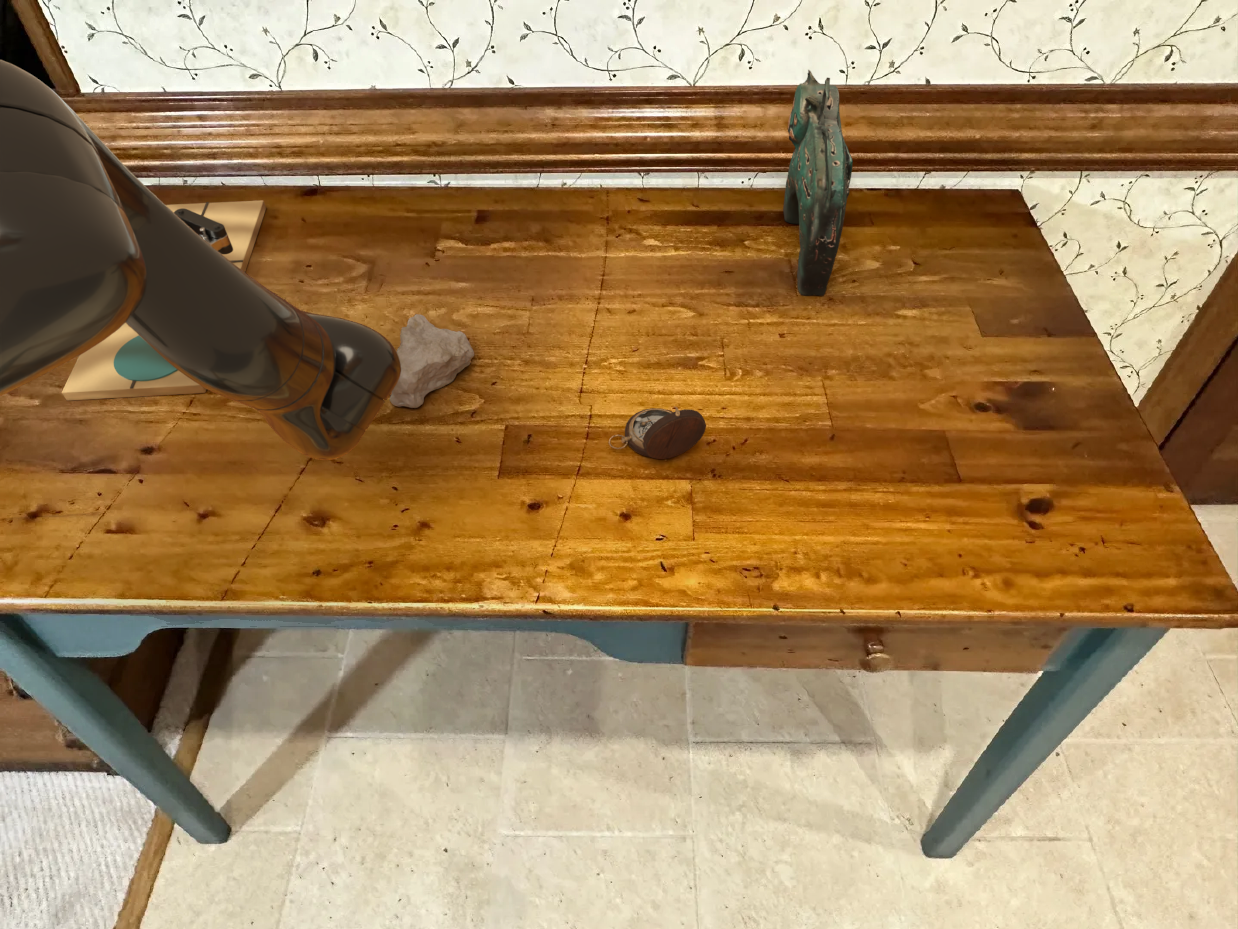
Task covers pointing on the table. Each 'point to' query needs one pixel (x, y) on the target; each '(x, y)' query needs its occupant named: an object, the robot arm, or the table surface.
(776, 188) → the table surface
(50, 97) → the robot arm
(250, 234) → the board
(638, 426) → the compass
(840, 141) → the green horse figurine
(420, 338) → the stone
